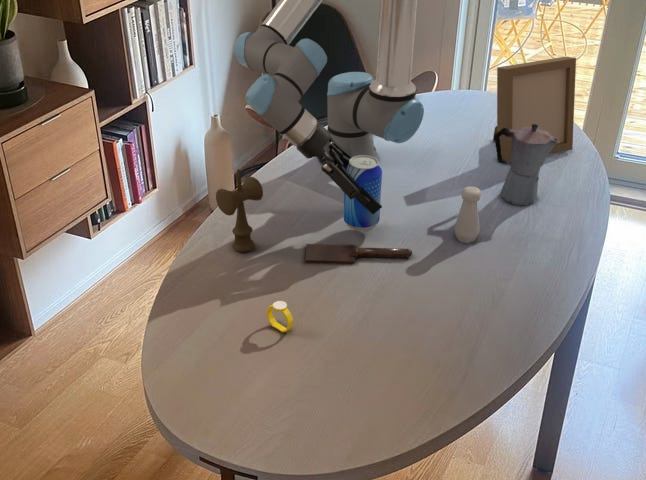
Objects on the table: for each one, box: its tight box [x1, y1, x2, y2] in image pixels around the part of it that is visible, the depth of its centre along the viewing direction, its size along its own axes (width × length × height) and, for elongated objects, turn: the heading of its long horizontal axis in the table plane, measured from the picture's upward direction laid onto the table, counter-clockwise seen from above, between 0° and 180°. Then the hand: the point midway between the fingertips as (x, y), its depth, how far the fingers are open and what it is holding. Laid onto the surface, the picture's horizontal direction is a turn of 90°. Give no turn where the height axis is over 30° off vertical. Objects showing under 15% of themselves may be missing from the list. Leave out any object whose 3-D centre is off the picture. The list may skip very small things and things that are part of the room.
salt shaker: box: [453, 186, 482, 244], centre depth 188 cm, size 6×6×13 cm
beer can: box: [343, 155, 383, 232], centre depth 188 cm, size 8×8×16 cm
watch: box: [266, 300, 294, 333], centre depth 162 cm, size 6×3×6 cm, turn 51°
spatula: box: [304, 243, 413, 265], centre depth 185 cm, size 24×7×2 cm, turn 89°
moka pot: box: [493, 124, 559, 206], centre depth 202 cm, size 10×15×20 cm, turn 78°
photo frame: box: [492, 56, 577, 164], centre depth 223 cm, size 15×22×25 cm
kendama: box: [215, 168, 264, 253], centre depth 182 cm, size 6×10×20 cm, turn 138°
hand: (376, 200), depth 189 cm, fingers closed on beer can, 8 cm apart
